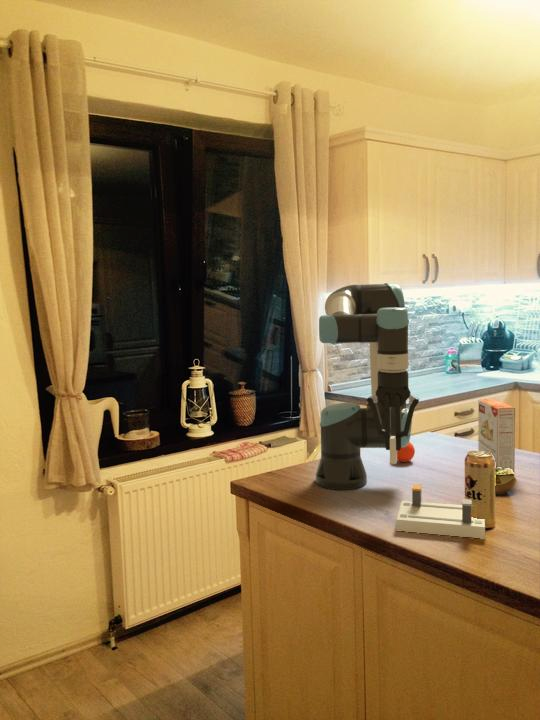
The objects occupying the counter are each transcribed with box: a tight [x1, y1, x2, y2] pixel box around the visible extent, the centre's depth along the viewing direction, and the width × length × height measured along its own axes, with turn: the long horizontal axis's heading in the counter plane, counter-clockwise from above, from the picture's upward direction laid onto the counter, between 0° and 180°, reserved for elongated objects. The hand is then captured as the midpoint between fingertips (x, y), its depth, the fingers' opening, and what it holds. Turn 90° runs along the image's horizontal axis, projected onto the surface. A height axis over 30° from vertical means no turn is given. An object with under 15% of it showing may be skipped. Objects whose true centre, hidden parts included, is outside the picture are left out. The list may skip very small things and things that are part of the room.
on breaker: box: [461, 498, 473, 522], centre depth 147 cm, size 2×3×4 cm
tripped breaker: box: [411, 484, 423, 506], centre depth 158 cm, size 2×3×4 cm
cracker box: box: [477, 398, 516, 473], centre depth 193 cm, size 14×6×21 cm, turn 4°
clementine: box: [397, 441, 416, 463], centre depth 206 cm, size 8×7×7 cm
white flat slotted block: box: [395, 500, 486, 540], centre depth 153 cm, size 20×13×3 cm, turn 72°
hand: (393, 462), depth 159 cm, fingers closed
